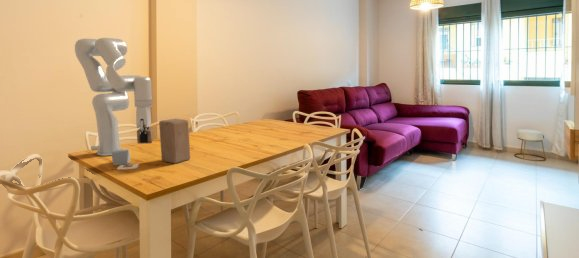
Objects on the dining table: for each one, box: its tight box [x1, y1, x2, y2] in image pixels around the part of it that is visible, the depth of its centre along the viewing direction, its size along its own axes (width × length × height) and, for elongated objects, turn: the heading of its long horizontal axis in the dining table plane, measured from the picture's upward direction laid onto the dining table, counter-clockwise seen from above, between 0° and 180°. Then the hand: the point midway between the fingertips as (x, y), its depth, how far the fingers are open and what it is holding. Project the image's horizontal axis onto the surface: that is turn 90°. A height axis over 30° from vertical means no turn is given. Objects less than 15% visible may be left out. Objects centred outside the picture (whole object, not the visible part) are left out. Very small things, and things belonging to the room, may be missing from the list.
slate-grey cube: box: [111, 148, 131, 166], centre depth 154 cm, size 6×6×6 cm
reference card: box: [116, 163, 140, 170], centre depth 147 cm, size 8×5×1 cm, turn 102°
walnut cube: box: [136, 128, 154, 145], centre depth 155 cm, size 6×6×6 cm
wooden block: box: [158, 118, 191, 165], centre depth 157 cm, size 10×10×20 cm
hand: (145, 140), depth 156 cm, fingers closed on walnut cube, 6 cm apart
